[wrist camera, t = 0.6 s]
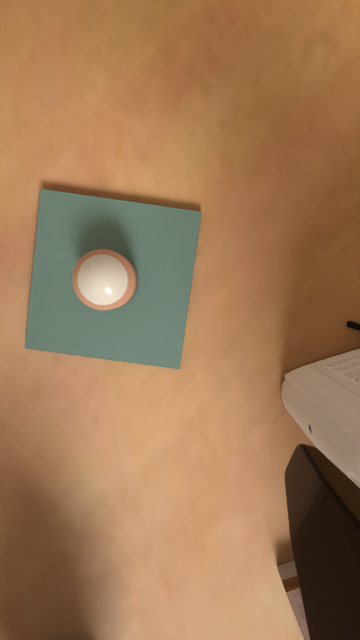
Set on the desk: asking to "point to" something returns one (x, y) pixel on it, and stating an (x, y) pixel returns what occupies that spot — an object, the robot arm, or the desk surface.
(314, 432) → the photo printer
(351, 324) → the pen
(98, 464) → the desk surface
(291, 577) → the white coffee grinder
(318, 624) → the robot arm
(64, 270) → the mat
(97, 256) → the beige short cylinder
